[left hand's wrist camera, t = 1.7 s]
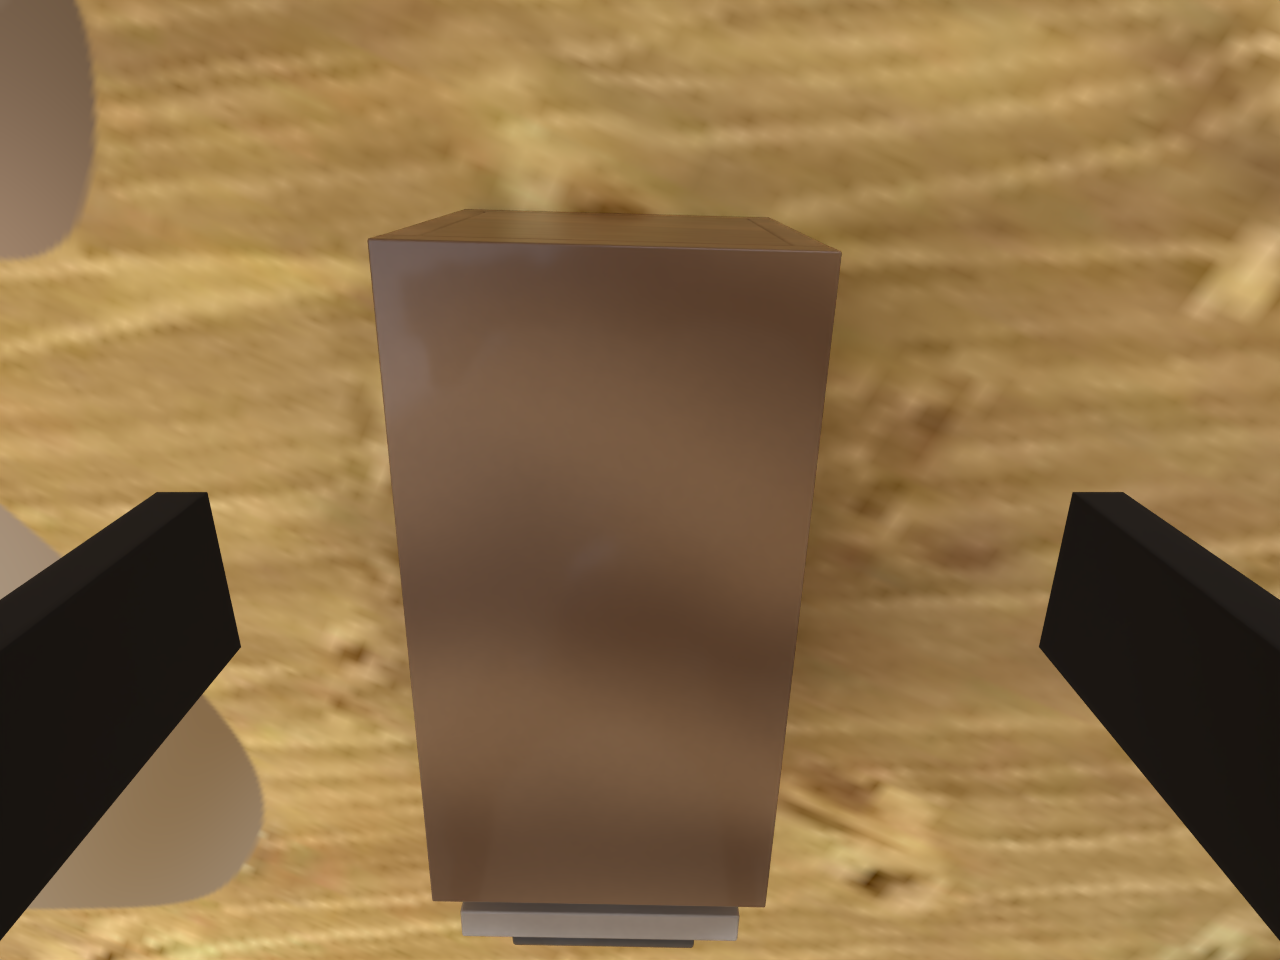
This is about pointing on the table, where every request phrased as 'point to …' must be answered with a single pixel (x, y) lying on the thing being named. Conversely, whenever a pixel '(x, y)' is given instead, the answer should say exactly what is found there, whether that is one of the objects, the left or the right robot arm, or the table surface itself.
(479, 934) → the drawer
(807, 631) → the table surface
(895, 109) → the table surface
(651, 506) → the cabinet
